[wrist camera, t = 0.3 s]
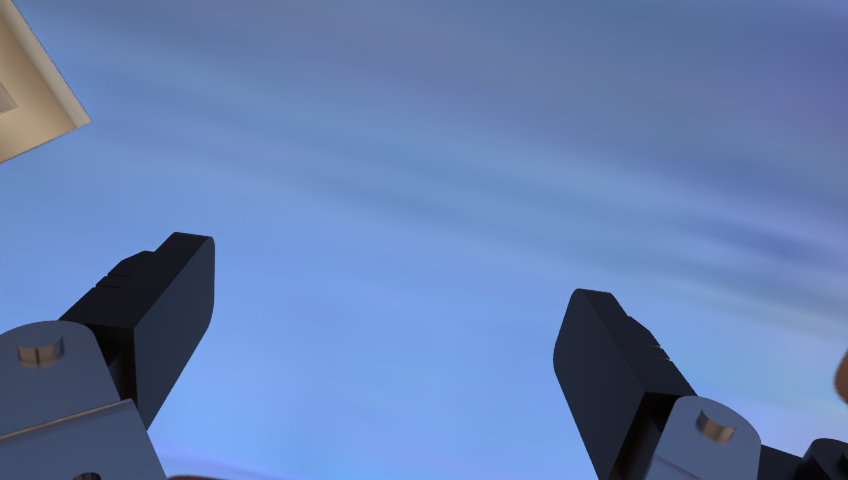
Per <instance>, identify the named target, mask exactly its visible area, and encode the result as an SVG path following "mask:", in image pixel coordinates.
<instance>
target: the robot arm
mask: <svg viewBox="0 0 848 480" xmlns="http://www.w3.org/2000/svg"><path fill="white" fill-rule="evenodd" d="M214 276H215V243H214V239H213V238H212V237H209V236H202V235H195V234H188V233H180V232H174V233H173V234H172V235H171V236H170V237H169V238H168V239H167V240H166V241H165V242H164V243H163V244H162V245H161V246H160V247H159V248H158V249H157V250H156V251H155V252H151V251H142V252H140V253H138V254H135V255H133V256H131V257H129V258H126V259H124V260H122V261H121V262H120V263H119V264H117V265H116V266H115V267H114V268H113V269H112V270H111V271H110V272H109V273H108V275H107V276H105V277H103V278H102V279H101V280H100V281H99V282H98V283H97V284H96V287H95V288H94V287H93V288H92V289H91V290H89V291H88V292H87V293H86V294H85V295H84V296H83V297H82V298H81V299H80V300H79V301H78V302H76V303H75V304H74V305H73V306H72V307H71V308H70V309H69V310H68V311H67V312H66V313H65V314H64V315H62V316H61V317H60V318H59V319H58V320H57V321H42V322H35V323H31V324H26V325H23V326H20V327H16V328H14V329H11V330H9V331H7V332H5V333H3V334H1V335H0V480H167V478H166V475H165V473H164V471H163V468H162V466H161V464H160V461H159V459H158V457H157V454H156V452H155V450H154V447H153V445H152V443H151V441H150V438H149V436H148V434H147V430H148V428H149V427H150V425H151V423H152V421H153V420H154V418H155V416H156V415H157V413H158V411H159V410H160V408H161V406H162V405H163V403H164V401H165V400H166V398H167V396H168V395H169V393H170V391H171V389H172V388H173V386H174V384H175V383H176V381H177V379H178V378H179V376H180V374H181V373H182V371H183V369H184V368H185V366H186V364H187V362H188V361H189V359H190V357H191V356H192V354H193V352H194V351H195V349H196V347H197V346H198V344H199V342H200V341H201V339H202V337H203V336H204V334H205V332H206V330H207V329H208V326H209V324H210V321H211V317H212V313H213V307H214ZM669 359H670V358H669V357H668V355H667V354H666V353H665V351H664V350H663V349H660V344H659V343H658V342H657V340H656V339H655V338H654V336H653V335H652V334H651V332H650V331H649V330H648V329H646V328H645V327H644V326H642V325H641V324H640V323H639V322H637V321H636V320H635V319H633V318H632V317H630V316H627V314H626V313H625V311H624V310H623V308H622V307H621V306H620V304H619V303H618V301H617V300H616V299H615V297H614V296H613V295H612V294H611V293H608V292H601V291H594V290H587V289H580V288H578V289H576V290H575V291H574V292H573V294H572V296H571V298H570V301H569V304H568V307H567V310H566V313H565V316H564V319H563V322H562V325H561V328H560V331H559V335H558V338H557V341H556V344H555V348H554V354H553V365H554V371H555V374H556V376H557V379H558V381H559V384H560V386H561V388H562V391H563V393H564V396H565V398H566V401H567V403H568V406H569V408H570V410H571V413H572V415H573V418H574V420H575V423H576V425H577V428H578V430H579V432H580V435H581V437H582V440H583V442H584V445H585V447H586V450H587V452H588V454H589V457H590V459H591V462H592V464H593V467H594V469H595V472H596V474H597V476H598V479H599V480H848V443H845V442H842V441H839V440H834V439H828V438H820V439H816V440H814V441H813V442H812V443H811V445H810V447H809V448H808V450H807V452H806V453H805V455H804V456H803V458H801V457H798V456H795V455H792V454H789V453H786V452H783V451H780V450H777V449H774V448H771V447H768V446H765V445H762V444H761V440H760V437H759V435H758V433H757V431H756V430H755V429H754V427H753V426H752V425H751V424H750V423H749V422H748V421H747V420H746V419H744V418H743V417H742V416H741V415H739V414H738V413H737V412H735V411H733V410H732V409H730V408H729V407H727V406H725V405H723V404H721V403H718V402H716V401H713V400H711V399H708V398H704V397H699V396H698V395H697V394H696V393H695V391H694V390H693V389H692V387H691V386H690V385H689V383H688V382H687V381H686V379H685V378H684V377H683V375H682V374H681V373H680V371H679V370H678V369H677V367H676V366H675V365H674V363H673V362H672V361H669Z"/></svg>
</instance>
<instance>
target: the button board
mask: <svg viewBox="0 0 848 480" xmlns="http://www.w3.org/2000/svg"><path fill="white" fill-rule="evenodd" d="M91 122H92V121H91V120H90V118H89V117H88V115H87V114H86V112H85V111H84V109H83V108H82V106H81V105H80V103H79V102H78V100H77V99H76V97H75V96H74V94H73V93H72V91H71V90H70V88H69V87H68V85H67V84H66V82H65V81H64V79H63V78H62V76H61V75H60V73H59V72H58V70H57V69H56V67H55V66H54V64H53V63H52V61H51V60H50V58H49V57H48V55H47V54H46V52H45V51H44V49H43V48H42V46H41V45H40V43H39V42H38V40H37V39H36V37H35V36H34V34H33V33H32V31H31V30H30V28H29V27H28V25H27V24H26V22H25V21H24V19H23V18H22V16H21V15H20V13H19V12H18V10H17V9H16V7H15V6H14V4H13V3H12V1H11V0H0V164H1V163H3V162H5V161H7V160H10V159H12V158H14V157H16V156H18V155H21V154H23V153H25V152H27V151H29V150H32V149H34V148H36V147H38V146H40V145H43V144H45V143H47V142H49V141H51V140H53V139H56V138H58V137H60V136H62V135H64V134H67V133H69V132H71V131H73V130H75V129H78V128H80V127H82V126H84V125H86V124H89V123H91Z"/></svg>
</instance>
